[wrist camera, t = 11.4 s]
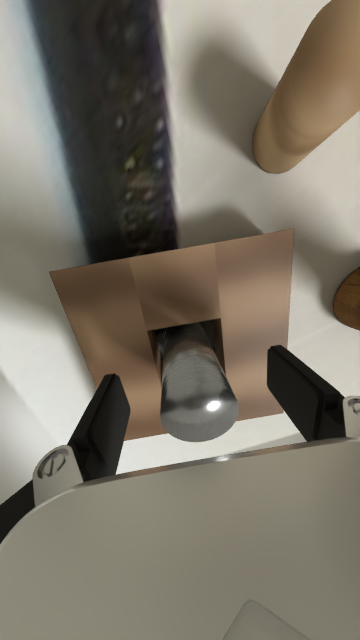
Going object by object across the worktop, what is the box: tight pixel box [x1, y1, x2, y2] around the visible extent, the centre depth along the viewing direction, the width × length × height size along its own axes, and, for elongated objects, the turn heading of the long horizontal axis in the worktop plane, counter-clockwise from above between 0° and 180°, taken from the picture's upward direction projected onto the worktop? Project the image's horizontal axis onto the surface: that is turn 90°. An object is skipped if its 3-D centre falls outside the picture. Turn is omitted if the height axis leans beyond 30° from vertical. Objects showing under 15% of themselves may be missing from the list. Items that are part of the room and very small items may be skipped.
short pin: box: [253, 0, 360, 174], centre depth 10 cm, size 4×4×5 cm
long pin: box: [160, 322, 239, 442], centre depth 13 cm, size 4×4×9 cm
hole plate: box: [49, 229, 294, 441], centre depth 16 cm, size 16×16×4 cm
